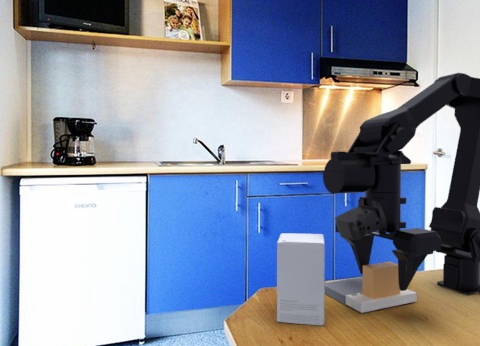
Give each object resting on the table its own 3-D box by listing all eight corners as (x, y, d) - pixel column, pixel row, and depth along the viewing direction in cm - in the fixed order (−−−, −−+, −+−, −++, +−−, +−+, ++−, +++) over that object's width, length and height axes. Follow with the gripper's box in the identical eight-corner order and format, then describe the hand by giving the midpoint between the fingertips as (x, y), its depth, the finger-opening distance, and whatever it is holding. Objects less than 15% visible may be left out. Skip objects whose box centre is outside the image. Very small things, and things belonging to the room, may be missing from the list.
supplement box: (325, 326, 56) (325, 243, 56) (275, 322, 58) (275, 241, 57) (324, 307, 63) (324, 233, 63) (280, 304, 65) (280, 231, 64)
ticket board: (370, 282, 76) (370, 275, 76) (397, 294, 69) (397, 286, 69) (320, 291, 71) (320, 283, 71) (344, 304, 64) (344, 295, 64)
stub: (398, 293, 69) (398, 258, 69) (416, 301, 65) (416, 264, 65) (345, 304, 64) (345, 266, 64) (361, 312, 61) (361, 273, 60)
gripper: (311, 189, 69) (311, 272, 70) (387, 199, 52) (386, 309, 53) (359, 186, 74) (359, 265, 74) (444, 195, 57) (442, 297, 57)
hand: (381, 281), depth 65 cm, fingers open, 9 cm apart
